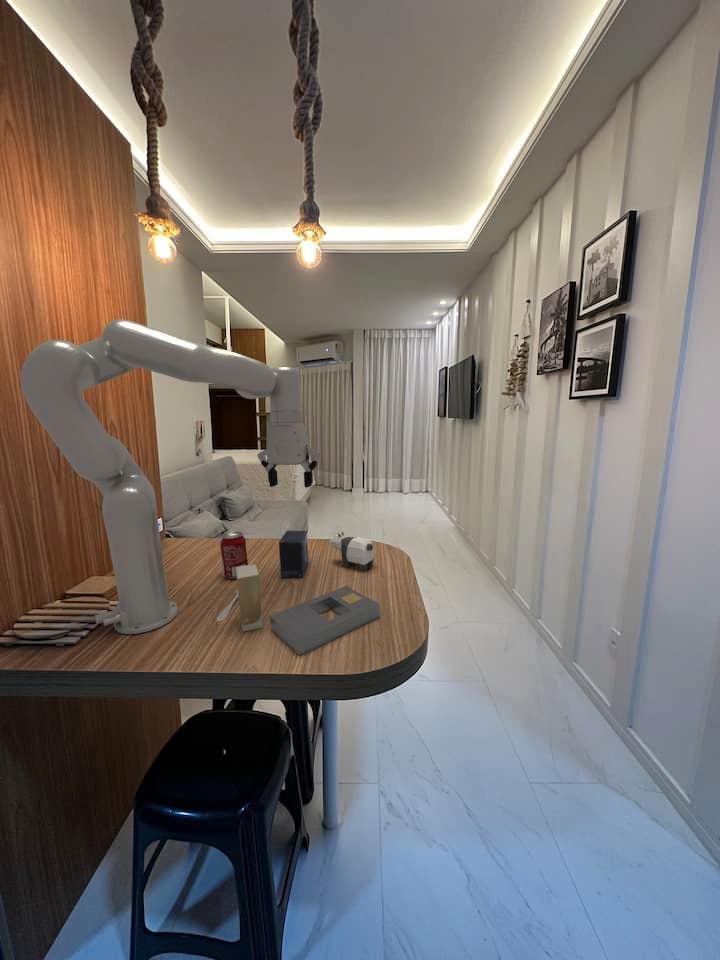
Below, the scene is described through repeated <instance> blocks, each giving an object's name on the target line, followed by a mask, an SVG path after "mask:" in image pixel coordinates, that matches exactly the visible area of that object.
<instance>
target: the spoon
mask: <svg viewBox="0 0 720 960" xmlns="http://www.w3.org/2000/svg"><path fill="white" fill-rule="evenodd" d="M237 599H239V595H238V589H236V591H235V596H234V597H233V599H232V600H231V601H229V602H230V603H229V604H228V605H227V606H226V607H225V608H224V609H223V610H222V611H221V613H220V614H219V615H218V616H217V618H216V622H221V621H223V620H224V619H226V617H227V616H228V614H229V613H230V611H231V610H232V607H233V606H234V603H235V602H236V601H237Z"/></svg>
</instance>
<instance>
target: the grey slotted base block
mask: <svg viewBox="0 0 720 960" xmlns="http://www.w3.org/2000/svg"><path fill="white" fill-rule="evenodd" d="M380 606H381V605H380V603H378V602H376V601H375V600H374V599H371V598H370V597H367V595H364V594H362V593H360V592H359V591H356V590H355V589H353V588H352V587H349V586H347V585H344V586H342V587H339V588H337V589H334V590H332V591H329V592H327V593H324V594H322V595H320V596H317V597H314V598H311V599H309V600H307V601H304V602H302V603H299V604H297V605H293V606H291V607H288V608H286V609H283V610H281V611H278V612H276V613H274V614H271V615H269V624H270V630H271V631H272V632H273V633H275V635H277V636H278V637H279V638H280V639H281V640H282V641H283V642H284V643H285V644H286V645H288V647H290V648H291V649H292V650H293V651H294V652H295V653H296V654H297V655H298V656H302V655H305V654H307V653H309V652H310V651H312V650H315V649H318V648H319V647H321V646H323V645H325V644H327V643H330V642H331V641H333V640H335V639H336V638H339V637H341V636H343V635H345V634H348V633H349V632H352V631H353V630H355V629H358V628H359V627H363V626H364V625H366V624H368V623H370V622H372V621H374V620H376V619H378V618H380V617H381V615H380V614H381V613H380V612H381V611H380V610H381V609H380ZM327 611H333V612H335V613H337V614H338V616H336V617H334V618H332V619H329V620H328V619H326V618H325V617H324V616H322V615H321V614H323V613H325V612H327Z"/></svg>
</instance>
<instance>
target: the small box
mask: <svg viewBox="0 0 720 960" xmlns="http://www.w3.org/2000/svg"><path fill="white" fill-rule="evenodd" d="M278 551H279V562H280V563H279V566H280V567H279V568H280V578H281V579H287V578H288V579H289V578H293V579H295V578H298V579H299V578H303V577H304V574H305V572H306V570H307V567H308V565H309V547H308V531H307V530H285V533H284V534H283V536H282V537H281V538H280V539H279V541H278Z"/></svg>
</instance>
